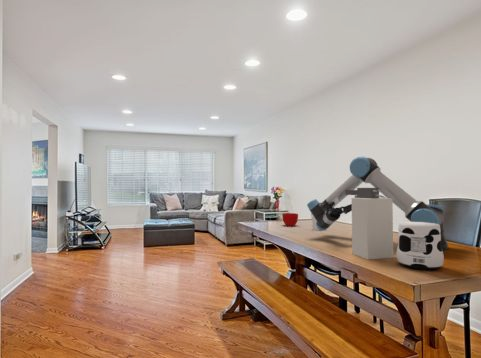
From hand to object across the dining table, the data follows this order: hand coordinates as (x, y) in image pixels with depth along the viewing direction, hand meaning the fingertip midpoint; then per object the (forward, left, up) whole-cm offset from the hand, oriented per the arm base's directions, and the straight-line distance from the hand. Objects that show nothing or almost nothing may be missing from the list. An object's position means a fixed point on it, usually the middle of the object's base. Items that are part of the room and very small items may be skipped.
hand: (349, 199), depth 169 cm
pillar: (-12, +14, -26) cm, 32 cm away
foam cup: (+30, -60, -27) cm, 72 cm away
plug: (-7, +9, +2) cm, 12 cm away
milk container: (-31, +27, -27) cm, 49 cm away
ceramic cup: (+55, -75, -27) cm, 97 cm away
